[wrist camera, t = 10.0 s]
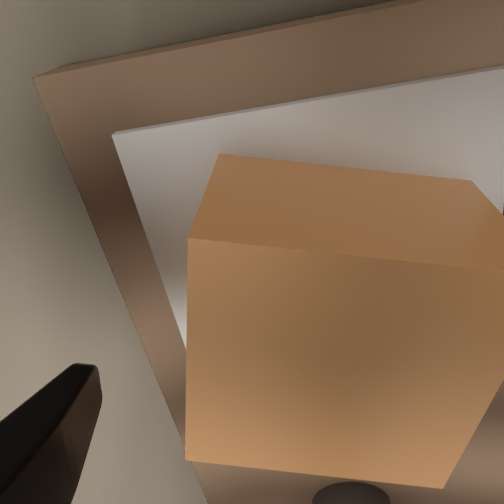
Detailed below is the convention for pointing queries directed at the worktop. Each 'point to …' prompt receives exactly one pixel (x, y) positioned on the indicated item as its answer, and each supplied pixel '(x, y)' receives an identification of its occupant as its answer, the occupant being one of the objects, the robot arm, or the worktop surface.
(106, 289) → the worktop surface
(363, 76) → the post board
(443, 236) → the orange tan square block
